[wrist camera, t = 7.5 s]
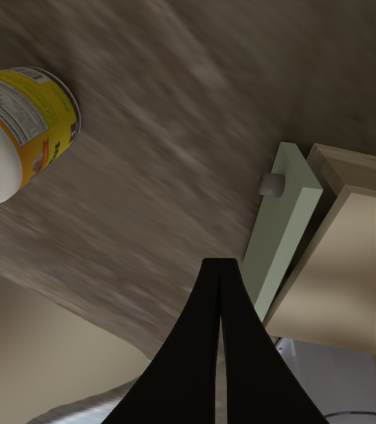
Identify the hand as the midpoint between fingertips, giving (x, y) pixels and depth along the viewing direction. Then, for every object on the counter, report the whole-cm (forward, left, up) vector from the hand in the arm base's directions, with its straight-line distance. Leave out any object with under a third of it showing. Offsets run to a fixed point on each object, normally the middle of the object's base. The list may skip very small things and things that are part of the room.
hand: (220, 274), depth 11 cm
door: (-3, -4, -10) cm, 11 cm away
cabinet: (-3, -11, -10) cm, 16 cm away
